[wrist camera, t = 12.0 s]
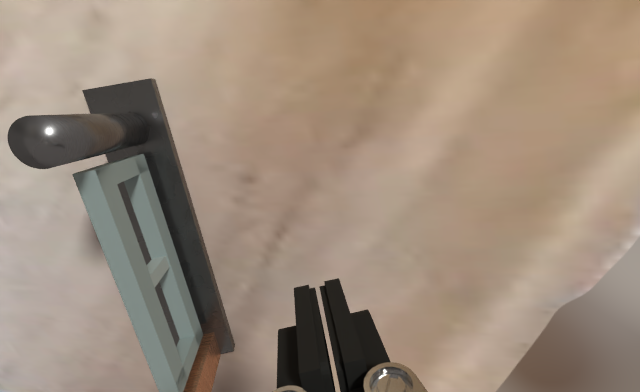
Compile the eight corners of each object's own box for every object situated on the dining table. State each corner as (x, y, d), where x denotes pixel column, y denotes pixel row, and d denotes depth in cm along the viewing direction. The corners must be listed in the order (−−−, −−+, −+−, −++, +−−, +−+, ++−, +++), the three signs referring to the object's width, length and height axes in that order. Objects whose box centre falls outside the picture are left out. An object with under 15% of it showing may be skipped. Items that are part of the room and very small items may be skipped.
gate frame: (183, 356, 38) (135, 478, 25) (88, 90, 30) (-53, 78, 17) (234, 344, 38) (211, 459, 26) (155, 79, 30) (63, 59, 17)
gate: (127, 156, 30) (72, 174, 22) (143, 153, 30) (95, 169, 22) (189, 337, 35) (163, 401, 27) (203, 334, 35) (181, 397, 28)
